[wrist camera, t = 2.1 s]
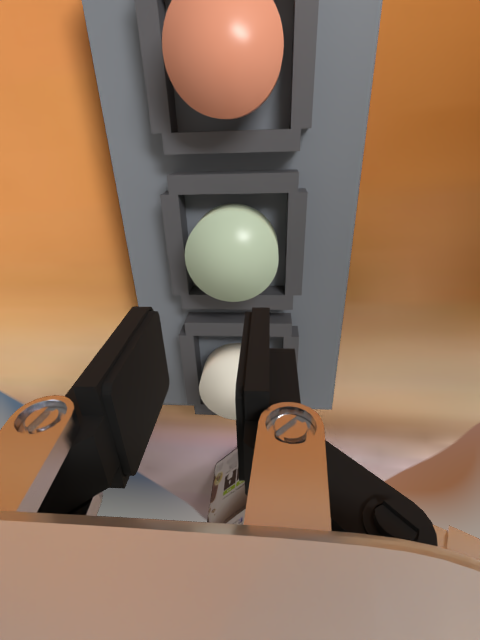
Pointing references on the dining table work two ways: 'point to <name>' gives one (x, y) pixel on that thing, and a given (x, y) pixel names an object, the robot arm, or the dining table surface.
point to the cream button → (221, 380)
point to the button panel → (241, 180)
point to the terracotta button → (223, 54)
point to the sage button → (232, 253)
